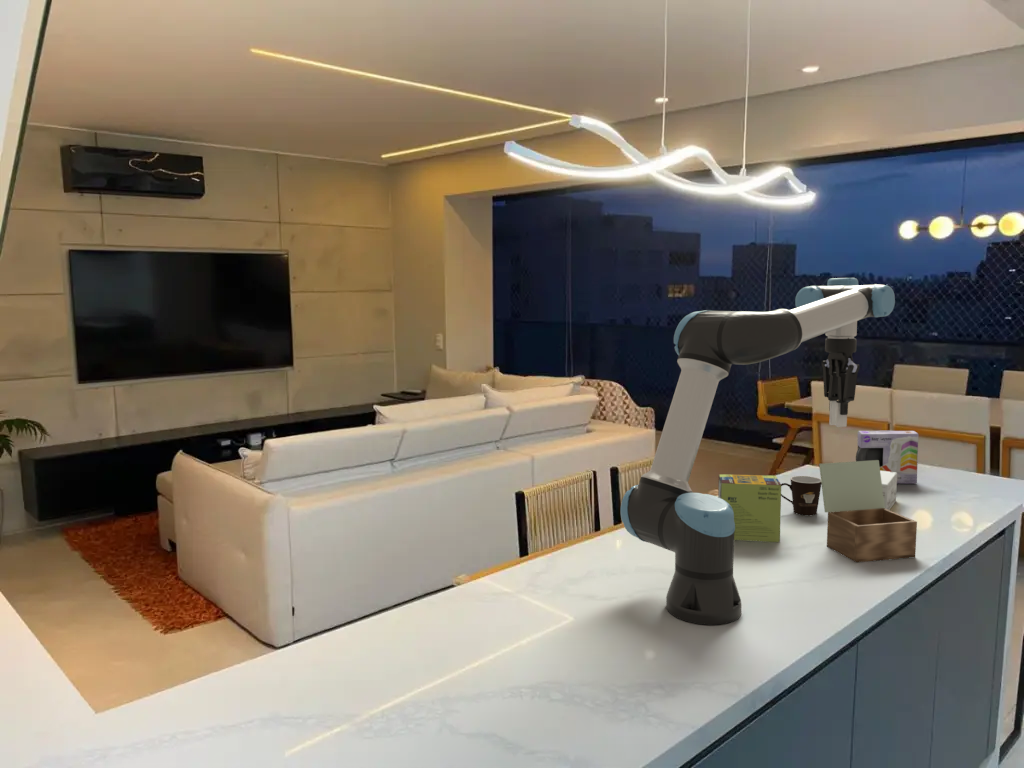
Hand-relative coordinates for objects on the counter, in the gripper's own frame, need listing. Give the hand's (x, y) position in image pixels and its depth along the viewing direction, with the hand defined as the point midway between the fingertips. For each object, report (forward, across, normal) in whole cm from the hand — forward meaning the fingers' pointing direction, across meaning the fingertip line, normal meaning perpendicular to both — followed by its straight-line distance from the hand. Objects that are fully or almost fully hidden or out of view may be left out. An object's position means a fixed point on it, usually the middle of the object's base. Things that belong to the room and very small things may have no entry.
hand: (837, 425), depth 198 cm
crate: (+29, -15, 0) cm, 33 cm away
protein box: (+30, +4, +23) cm, 38 cm away
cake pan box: (+30, +44, -48) cm, 72 cm away
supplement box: (+30, +22, -26) cm, 45 cm away
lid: (+15, -7, 0) cm, 16 cm away
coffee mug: (+30, +20, -2) cm, 36 cm away
